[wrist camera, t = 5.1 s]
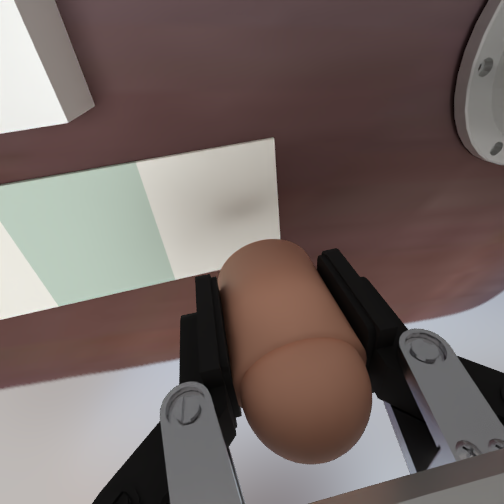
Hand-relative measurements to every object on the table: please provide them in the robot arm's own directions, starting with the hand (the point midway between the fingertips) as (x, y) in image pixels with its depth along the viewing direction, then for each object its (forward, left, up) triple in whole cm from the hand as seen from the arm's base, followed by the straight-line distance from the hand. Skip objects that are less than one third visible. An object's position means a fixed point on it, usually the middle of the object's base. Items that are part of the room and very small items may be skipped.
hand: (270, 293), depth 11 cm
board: (+12, 0, -8) cm, 15 cm away
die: (+8, -9, -8) cm, 14 cm away
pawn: (0, 0, -1) cm, 1 cm away
